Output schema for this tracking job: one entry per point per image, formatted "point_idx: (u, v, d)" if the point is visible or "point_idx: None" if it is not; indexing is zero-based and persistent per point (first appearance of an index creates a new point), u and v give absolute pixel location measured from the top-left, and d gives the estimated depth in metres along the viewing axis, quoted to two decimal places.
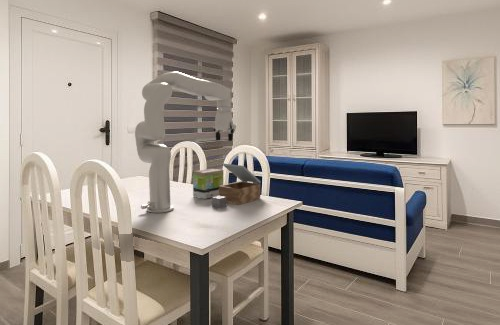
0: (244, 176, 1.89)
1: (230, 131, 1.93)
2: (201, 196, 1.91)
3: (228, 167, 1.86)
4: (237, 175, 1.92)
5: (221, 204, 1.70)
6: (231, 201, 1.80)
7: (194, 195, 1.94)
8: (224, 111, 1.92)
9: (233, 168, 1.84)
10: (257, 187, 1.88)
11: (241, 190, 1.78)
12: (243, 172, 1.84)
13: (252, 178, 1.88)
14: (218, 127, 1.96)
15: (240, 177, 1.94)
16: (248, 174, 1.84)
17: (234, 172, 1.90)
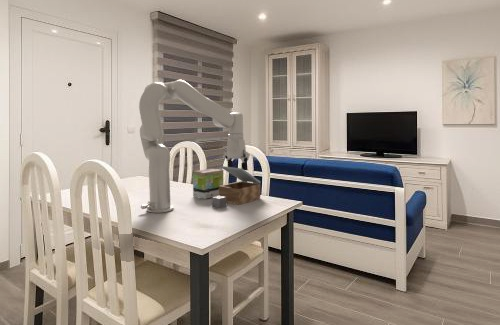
0: (244, 177, 1.89)
1: (243, 160, 1.79)
2: (201, 196, 1.91)
3: (227, 169, 1.85)
4: (237, 176, 1.92)
5: (221, 204, 1.70)
6: (231, 201, 1.80)
7: (194, 195, 1.94)
8: (236, 138, 1.78)
9: (232, 170, 1.84)
10: (257, 187, 1.88)
11: (241, 190, 1.78)
12: (243, 174, 1.84)
13: (251, 179, 1.88)
14: (230, 155, 1.82)
15: (240, 178, 1.93)
16: (247, 176, 1.83)
17: (233, 174, 1.89)
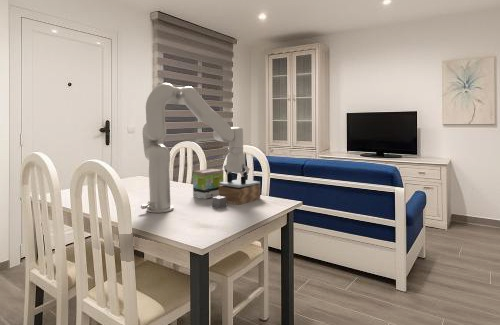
0: None
1: (243, 174, 1.80)
2: (201, 196, 1.91)
3: None
4: None
5: (221, 204, 1.70)
6: (231, 201, 1.80)
7: (194, 195, 1.94)
8: (236, 153, 1.79)
9: None
10: (257, 187, 1.88)
11: (241, 190, 1.78)
12: None
13: None
14: (230, 169, 1.83)
15: None
16: (246, 185, 1.83)
17: None
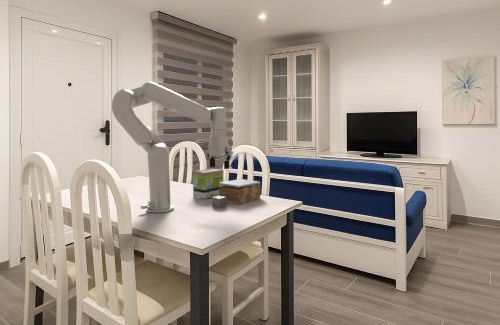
0: None
1: (226, 158, 1.66)
2: (201, 196, 1.91)
3: None
4: None
5: (221, 204, 1.70)
6: (231, 201, 1.80)
7: (194, 195, 1.94)
8: (219, 135, 1.65)
9: None
10: (257, 187, 1.88)
11: (241, 190, 1.78)
12: None
13: None
14: (212, 153, 1.69)
15: None
16: (246, 185, 1.83)
17: None
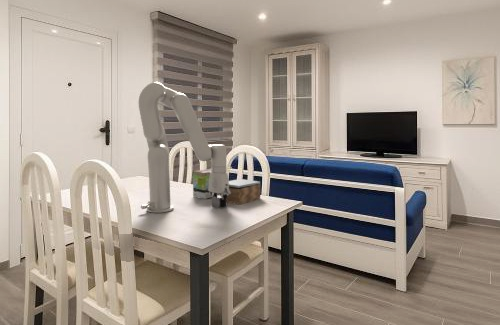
0: None
1: (223, 197, 1.69)
2: (201, 196, 1.91)
3: None
4: None
5: None
6: (231, 201, 1.80)
7: (194, 195, 1.94)
8: (219, 172, 1.67)
9: None
10: (257, 187, 1.88)
11: (241, 190, 1.78)
12: None
13: None
14: (212, 189, 1.71)
15: None
16: (246, 185, 1.83)
17: None
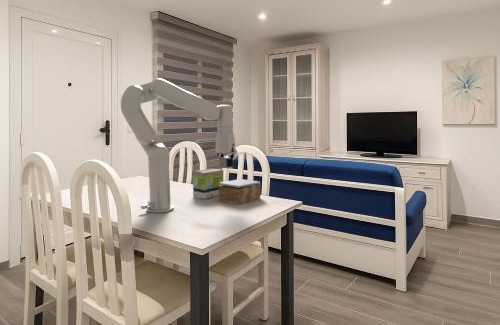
0: None
1: (230, 156, 1.71)
2: (201, 196, 1.91)
3: None
4: None
5: None
6: (231, 201, 1.80)
7: (194, 195, 1.94)
8: (225, 132, 1.69)
9: None
10: (257, 187, 1.88)
11: (241, 190, 1.78)
12: None
13: None
14: (219, 150, 1.73)
15: None
16: (246, 185, 1.83)
17: None
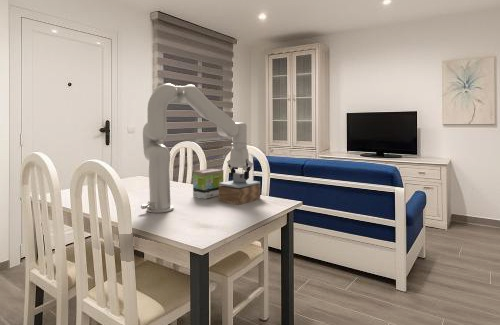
0: None
1: (246, 169, 1.82)
2: (201, 196, 1.91)
3: None
4: None
5: (241, 179, 1.84)
6: (231, 201, 1.80)
7: (194, 195, 1.94)
8: (240, 148, 1.81)
9: None
10: (257, 187, 1.88)
11: (241, 190, 1.78)
12: None
13: None
14: (233, 164, 1.85)
15: None
16: None
17: None
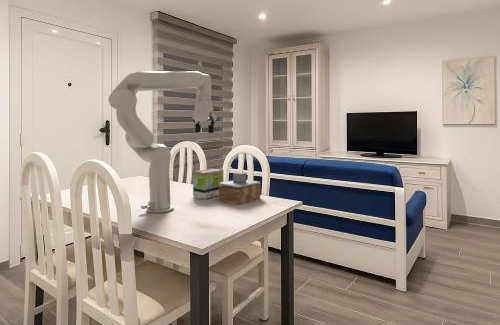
0: None
1: (210, 122, 1.75)
2: (201, 196, 1.91)
3: None
4: None
5: (241, 179, 1.84)
6: (231, 201, 1.80)
7: (194, 195, 1.94)
8: (204, 100, 1.75)
9: None
10: (257, 187, 1.88)
11: (241, 190, 1.78)
12: None
13: None
14: (197, 118, 1.78)
15: None
16: None
17: None
